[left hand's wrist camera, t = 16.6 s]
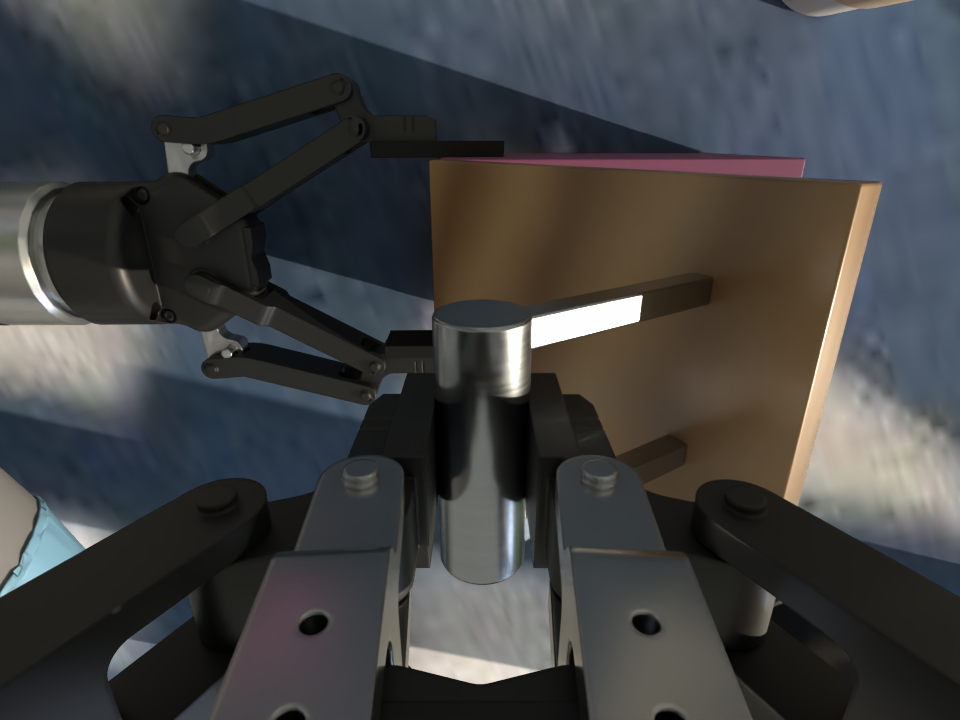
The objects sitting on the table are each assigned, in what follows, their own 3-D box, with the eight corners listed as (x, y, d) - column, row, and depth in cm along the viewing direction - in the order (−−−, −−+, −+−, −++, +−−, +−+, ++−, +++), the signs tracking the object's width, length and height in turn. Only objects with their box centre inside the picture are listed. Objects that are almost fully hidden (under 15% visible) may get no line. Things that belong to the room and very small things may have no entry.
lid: (884, 181, 11) (561, 210, 6) (780, 577, 14) (532, 763, 10) (447, 159, 24) (244, 163, 19) (452, 369, 27) (283, 412, 23)
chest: (705, 152, 34) (806, 158, 24) (683, 304, 38) (763, 364, 28) (446, 153, 34) (438, 158, 24) (450, 306, 38) (444, 367, 27)
